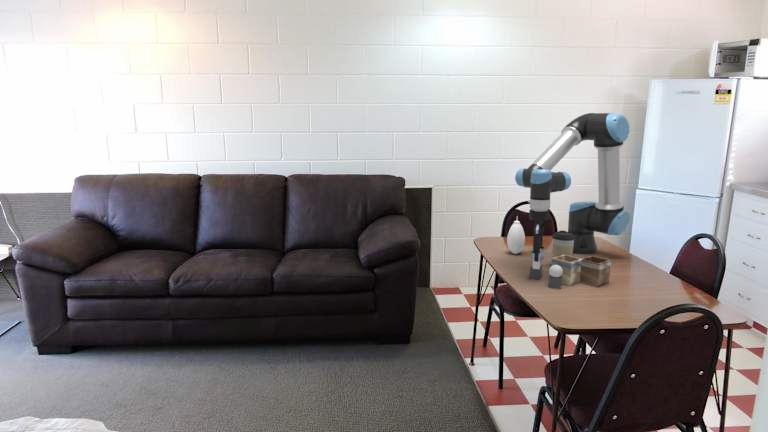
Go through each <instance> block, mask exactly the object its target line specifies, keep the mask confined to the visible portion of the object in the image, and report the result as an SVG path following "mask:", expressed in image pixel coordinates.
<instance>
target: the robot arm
mask: <svg viewBox="0 0 768 432" xmlns="http://www.w3.org/2000/svg"><path fill="white" fill-rule="evenodd" d="M629 134H630V123H629V121H628V119H627V117H625V115H624V114H622V113H614V112H603V113H602V112H598V113H597V112H595V113H594V112H590V113H589V112H588V113H584V114H582V115H579V116H578V117H576V118H573V120H571V121H570V122H569V123H568V124H565V126H564V127H563V128H562V129H561V132H560V134H559V136H558V137H557V138H556V139H554V141H552V143H551V144H550V145H549V146H548V147H547V148H546V149H545V150H544V151H543V152H542V153H541V154H540V155H539V156H538V157H537V158H536V159H535V160H534V161H533V162H532V163H531V164H530V166H528V168H525V167H524V168H520V169H518V170H517V171H516V174H515V177H514V181H515V183H516V185H517V186H520V187H523V188H526V189H530V190H529V191H530V192H529V193H530V197H529V199H530V200H528V201H527V203H529V211H528V218H529V220H531V221H534V222H533V224H532V229H533V230H532V233H533V234H532V236H533V237H532V239H533V241H532V242H533V243H532V251H530V254H531V253H533V260H532V266H533V268H532V269H540V267H541V266H542V260H541V261H540V250H541V251H542V252H543V250H544V249H545V247H544V246H543V237H544V232H545V231H544V228H545V223H544V222H547V221H549V220H550V208H551V193H557V192H563V191H566V190H568V189H569V188H570V187H571V184H572V178H571V176H570V174H569V173H567V172H566V171H557V172H554V171H552V170H553V169H554V168H555V167H556V165H557V164H558V163H559V162H560V161H561V160H562V159H563V158H564V157H565V156H566V155H567V154H568V153H569V152H570V151H571V150H572V149H573V148H574V146H579V144H580V143H582V142H584V141H593V147H594V148H595V149H597V173H598V174H597V176H598V177H597V178H598V179H597V180H598V202H596V201H577V202H576V201H575V202H572V203H571V204H569V210H568V226H567V232H570V233H572V235H573V236H575V240H574V247H573V253H572V254H581V255H588V254H589V255H592V254H595V253H597V249H598V246H597V241H596V239H595V232H597V233H600V234H605V235H608V236H620V235H622V234H624V232H625V231H626V230H627V228H628V225H629V222H630V213H629V211H627V210H626V209H624V203H623V202H621V197H620V196H621V192H620V189H621V185H620V181H621V180H620V179H621V178H620V177H621V176H620V174H621V171H620V148H621V147H623V145H624V142H626V141H627V139H628V137H629Z"/></svg>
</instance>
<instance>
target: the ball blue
mask: <svg viewBox="0 0 768 432" xmlns="http://www.w3.org/2000/svg"><path fill="white" fill-rule="evenodd" d="M530 258H531V260H532V261H533V253H531V252H530ZM544 258H545V254H544V252H543V250H542V251H541V250H540V261H541V262H542V261H543V260H544Z"/></svg>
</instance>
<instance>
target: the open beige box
mask: <svg viewBox="0 0 768 432" xmlns="http://www.w3.org/2000/svg"><path fill="white" fill-rule="evenodd" d="M581 259H582V258H581V257H576V256H573V255H572V256H568V255H561V256H558V257H554V258H553V257H552V259H551V261H550V263H551V266H553V265H559V266H560V267H561V268H562V270H563V274H562V278H561V285H562V284H564V285H566V286H572V285H575V284H577V283H581V282H580V271H581Z"/></svg>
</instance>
